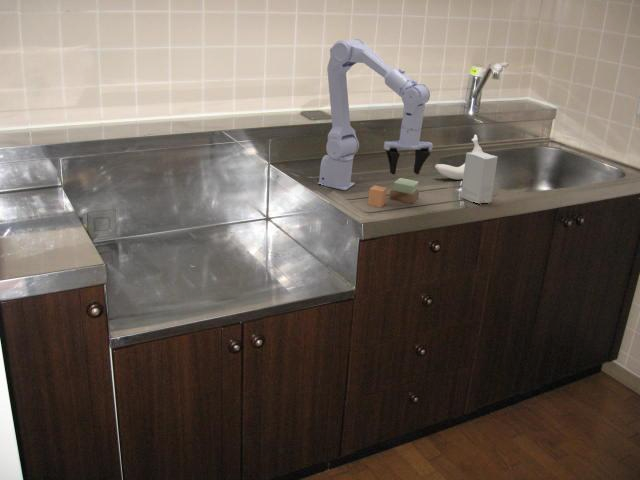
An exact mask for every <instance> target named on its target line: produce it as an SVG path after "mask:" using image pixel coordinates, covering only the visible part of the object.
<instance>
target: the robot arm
mask: <svg viewBox="0 0 640 480" xmlns="http://www.w3.org/2000/svg"><path fill="white" fill-rule="evenodd" d="M329 54H330V57H329V60H328V64H327V82H328V90H329V91H328V93H329V104H330V114H331V129H330V131H329V133H328V134H327V142H326V146H325V147H326V148H325V149H326V153H327V154H324V156H323V157H322V158H321V162H320V168H319V180H318V182H317V185H319V184H321V185H320V186H323V185H324V187H328V188H332V189H333V188H334V189H337V190H342V191H347V190H348V189H350V188H351V187H353V186H354V185H355V182H352V171H353V162H354V158H355V154H356V153H358V150H359V149H360V143H359V140H358V138H357V135H356V130H355V129H354V128H353V127H352V126H351V116H350V106H349V105H350V104H349V94H348V92H349V91H348V82H347V81H348V80H347V73H348V72H349V70H351V68H352V67H353V66H354V65H356V64H357V63H362V64H364V65H366V67H368V68H370V69H371V70H373V71H374V72H375V73H377V74H378V75H380V77H382V78H384V84H385V85H386V86H387V87H388V88H389V89H390V90H392V91H393V92H394V93H395V94H397V95H398V96H399V97H400V98H401V101H402V103H403V113H402V120H401V125H400V133H399V140H391V141H384V142H383V143H384V144H383V149H384V150H385V153H386V156H387V159H388V163H389V173H390V174H392V175H396V172H397V164H398V160H399V158H400V155H401V154H400V153H399V151H398V150H412V151H413V150H414V152H415V153H414V154H415V160H414V164H413V165H414V166H413V173H414V174H416V175H420V172H421V169H422V167H423V165H424V163H425V162H426V160H427V159H428V158H429V156H430V155H431V151H432V150H433V146H434V144H433V143H432V142H430V141H420V140H421V133H422V126H423V120H424V116H425V115H424V114H425V106H426V105H425V104H426V103H428V102H429V100H430V97H431V92H430V90H429V88H428V87H427V86H426V84H423V83H418V80H416V79H413V78H412V77H410V76H409V75H407V74H406V73H405V72H406V70H405V69H404V68H399V67H394V68H392V67H391V66H390V65H389V64H388V63H386V61H384V59H382V58H381V57H380V56H379V55H378V54H377V53H376V52H375V51H374V50H373V49H372V48H371V47H370V45H369V44H367V43H365V42H364V41H363V40H361V39H360V38H359V39H349V40H348V39H347V40H342V39H341V40H337V41H336V42H335V43H334V44H333V45H332V46H331V48H330V49H329Z"/></svg>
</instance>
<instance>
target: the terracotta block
mask: <svg viewBox="0 0 640 480" xmlns="http://www.w3.org/2000/svg"><path fill="white" fill-rule="evenodd" d="M387 192H388V187H386V186H385V187H384V186H380V185H375V184H374V185H373V186H372V187H370V188H369V192H368V200H367V205H368V206H373V207H377V208H382V207H383V206H385V204H386V200H387Z"/></svg>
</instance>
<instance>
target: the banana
mask: <svg viewBox="0 0 640 480" xmlns="http://www.w3.org/2000/svg"><path fill="white" fill-rule="evenodd" d="M471 141H472V143H473V146H474V147H473V149H472V151H471V152H474V151H481V152H484V151H483V149H482V147H481V146H480V145H479V138H478V135H477V134H474V136H473V138H471ZM434 166H435V169H436V171H438V172H439V173H440V174H441V175H442V176H444V177H446V178H450V179H451V180H452V179H453V180H458V181H459V180H463V175H464V168H465V162H464V163H463V164H462V165H460V166H453V165H449V164H443V163H441V164H439V163H437V164H435V165H434Z"/></svg>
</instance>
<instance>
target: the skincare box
mask: <svg viewBox="0 0 640 480" xmlns="http://www.w3.org/2000/svg"><path fill="white" fill-rule="evenodd" d="M498 157H499V156H497V155H494V154H489V153H487V152H484V151H483V152H481V151H474V152H472V151H469V152H466V154H465V161H464V163H465V168H464V175H463V179H462V184H461V192H460V198H461V199H464V200H466V201H469V202H470V203H473V202H475V203H483V202H488V201H491V202H492V197H493V193H494V185H495V179H496V178H495V177H496V170H497V163H498ZM475 203H474V204H475Z"/></svg>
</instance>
